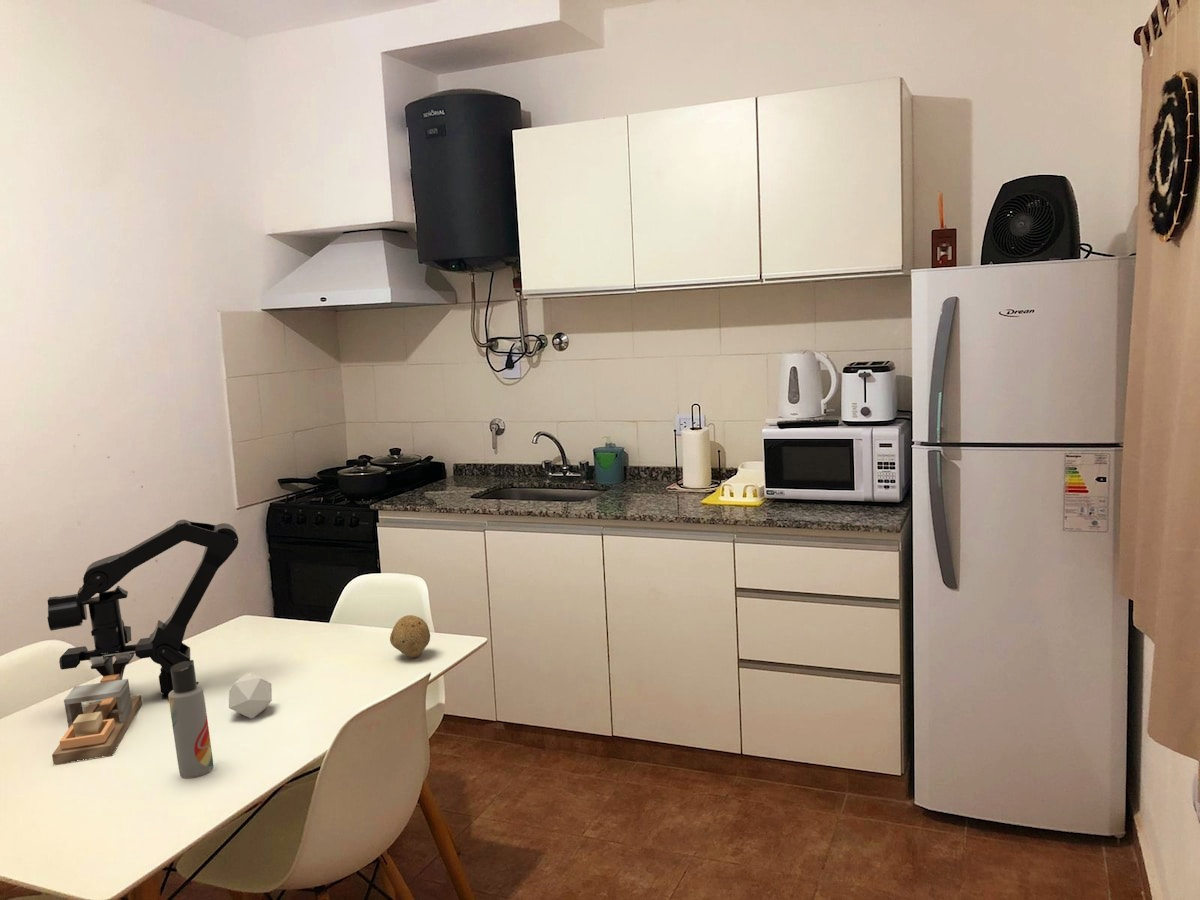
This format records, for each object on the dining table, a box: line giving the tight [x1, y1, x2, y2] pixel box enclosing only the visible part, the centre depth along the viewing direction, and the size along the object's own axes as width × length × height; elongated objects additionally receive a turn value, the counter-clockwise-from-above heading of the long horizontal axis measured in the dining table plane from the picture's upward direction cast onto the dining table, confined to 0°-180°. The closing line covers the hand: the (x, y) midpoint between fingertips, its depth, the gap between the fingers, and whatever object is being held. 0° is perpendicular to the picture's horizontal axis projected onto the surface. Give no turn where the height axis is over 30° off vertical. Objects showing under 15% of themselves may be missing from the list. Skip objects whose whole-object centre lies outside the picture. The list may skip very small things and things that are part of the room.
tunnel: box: [51, 678, 143, 765], centre depth 187 cm, size 10×25×8 cm, turn 14°
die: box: [228, 672, 273, 720], centre depth 192 cm, size 8×9×10 cm
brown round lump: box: [389, 614, 431, 659], centre depth 217 cm, size 9×9×10 cm
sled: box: [59, 674, 120, 749], centre depth 188 cm, size 8×24×5 cm, turn 14°
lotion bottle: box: [168, 661, 214, 779], centre depth 167 cm, size 6×6×20 cm
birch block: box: [73, 712, 104, 737], centre depth 181 cm, size 4×4×4 cm
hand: (117, 690), depth 202 cm, fingers closed
